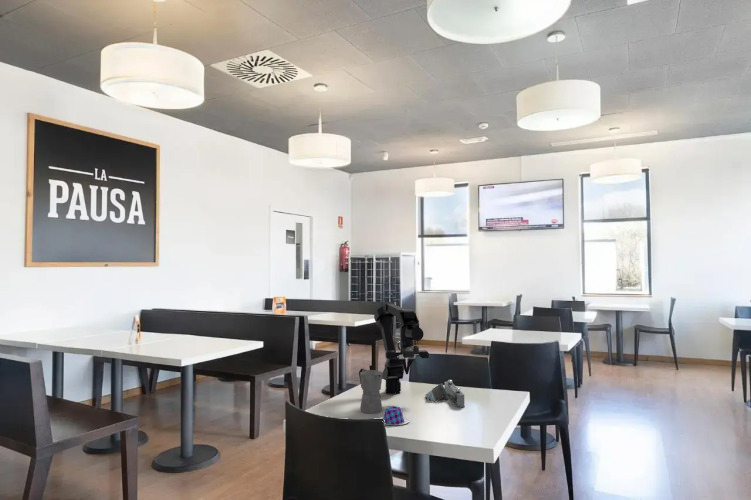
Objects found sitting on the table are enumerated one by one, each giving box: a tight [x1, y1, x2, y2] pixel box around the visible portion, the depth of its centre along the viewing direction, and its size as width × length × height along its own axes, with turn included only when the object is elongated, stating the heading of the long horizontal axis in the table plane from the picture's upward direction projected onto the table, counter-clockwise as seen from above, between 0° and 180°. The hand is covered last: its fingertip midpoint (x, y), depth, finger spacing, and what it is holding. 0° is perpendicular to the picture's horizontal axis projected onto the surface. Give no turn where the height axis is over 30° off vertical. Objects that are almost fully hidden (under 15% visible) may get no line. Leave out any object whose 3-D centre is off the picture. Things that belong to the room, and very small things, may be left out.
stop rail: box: [444, 379, 465, 408], centre depth 219 cm, size 3×26×7 cm, turn 3°
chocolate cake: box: [424, 383, 449, 402], centre depth 220 cm, size 10×7×12 cm
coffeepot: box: [358, 364, 384, 415], centre depth 202 cm, size 15×9×18 cm, turn 33°
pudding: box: [379, 405, 410, 426], centre depth 186 cm, size 12×12×5 cm
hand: (406, 374), depth 219 cm, fingers closed
